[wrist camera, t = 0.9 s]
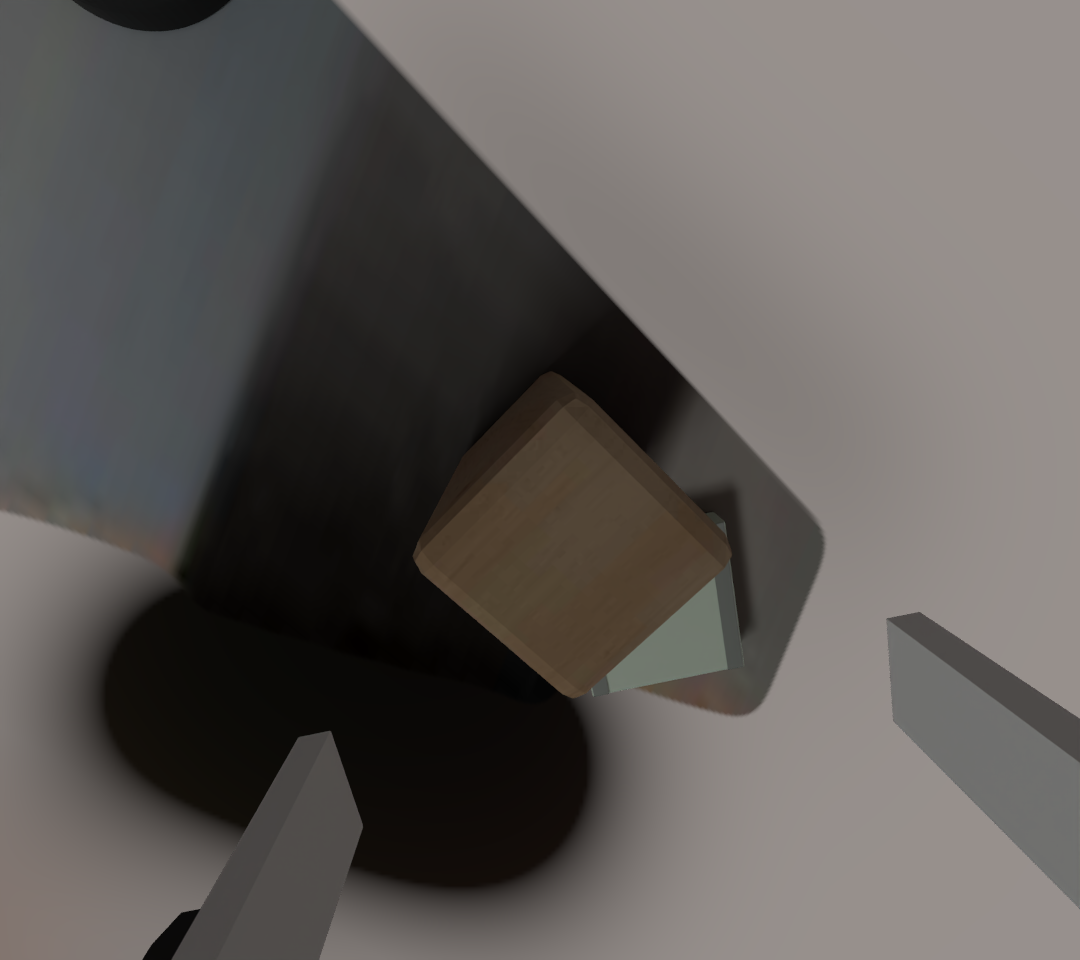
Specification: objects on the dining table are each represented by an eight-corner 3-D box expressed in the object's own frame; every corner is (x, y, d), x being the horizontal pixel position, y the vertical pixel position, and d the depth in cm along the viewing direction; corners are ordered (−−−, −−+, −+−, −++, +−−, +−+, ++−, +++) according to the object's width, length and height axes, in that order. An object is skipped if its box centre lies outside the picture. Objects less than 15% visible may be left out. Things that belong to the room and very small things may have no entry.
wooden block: (455, 462, 42) (397, 565, 22) (550, 364, 40) (577, 382, 21) (550, 550, 43) (574, 716, 24) (644, 460, 42) (750, 558, 23)
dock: (560, 543, 43) (563, 555, 41) (713, 511, 43) (725, 522, 41) (589, 677, 46) (593, 697, 44) (732, 648, 46) (744, 666, 43)
